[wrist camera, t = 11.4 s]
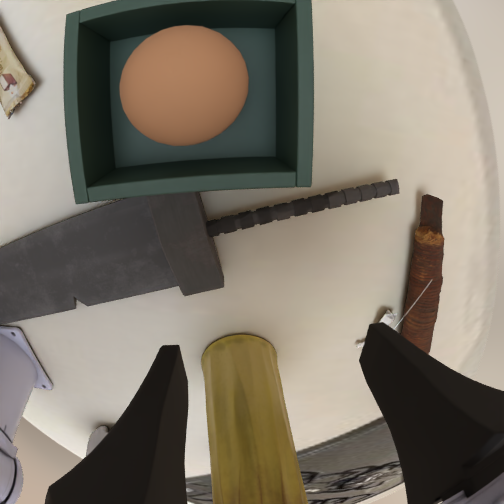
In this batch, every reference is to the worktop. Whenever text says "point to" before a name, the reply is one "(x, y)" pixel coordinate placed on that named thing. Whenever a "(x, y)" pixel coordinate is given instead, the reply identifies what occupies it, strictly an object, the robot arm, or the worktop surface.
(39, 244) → the flat dark sword
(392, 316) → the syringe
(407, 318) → the hand tool
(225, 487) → the vase
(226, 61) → the egg
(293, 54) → the tote
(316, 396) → the worktop surface
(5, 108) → the snack bar
